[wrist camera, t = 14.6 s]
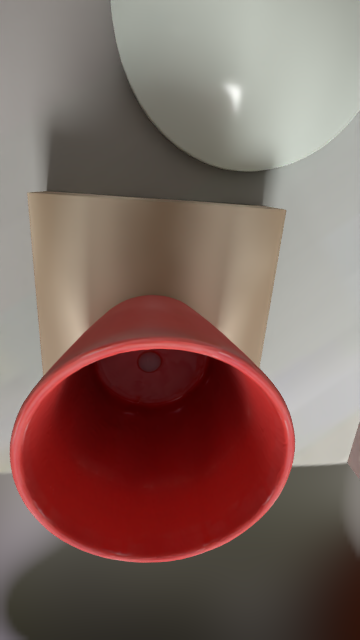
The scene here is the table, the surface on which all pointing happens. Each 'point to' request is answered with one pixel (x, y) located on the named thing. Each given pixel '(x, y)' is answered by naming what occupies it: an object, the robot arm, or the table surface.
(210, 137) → the pale grey round plate
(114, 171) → the table surface
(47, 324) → the stand
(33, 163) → the table surface
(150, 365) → the flower pot
